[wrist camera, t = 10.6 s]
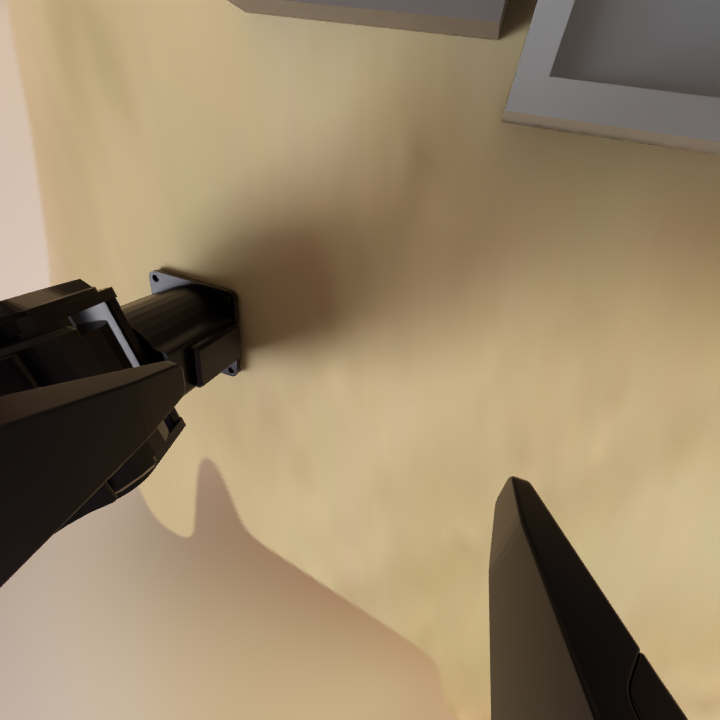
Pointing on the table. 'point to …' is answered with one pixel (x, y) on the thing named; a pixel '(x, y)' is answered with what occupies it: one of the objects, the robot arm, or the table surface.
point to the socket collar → (395, 14)
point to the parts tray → (622, 71)
